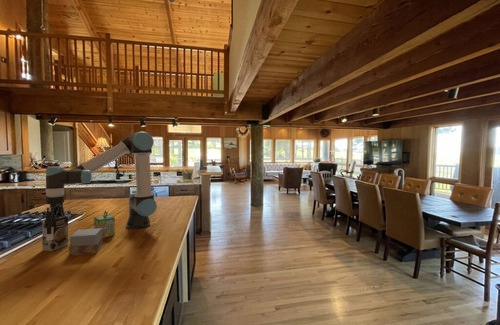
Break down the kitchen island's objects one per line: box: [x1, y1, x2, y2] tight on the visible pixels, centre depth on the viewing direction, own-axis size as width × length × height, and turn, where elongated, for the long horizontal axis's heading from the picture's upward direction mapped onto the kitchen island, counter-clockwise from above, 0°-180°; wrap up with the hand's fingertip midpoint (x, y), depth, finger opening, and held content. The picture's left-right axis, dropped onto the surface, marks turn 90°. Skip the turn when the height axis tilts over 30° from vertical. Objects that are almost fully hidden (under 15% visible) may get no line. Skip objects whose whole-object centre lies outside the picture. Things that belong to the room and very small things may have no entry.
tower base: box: [68, 236, 104, 257], centre depth 125 cm, size 12×12×5 cm
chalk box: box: [93, 210, 116, 239], centre depth 146 cm, size 9×9×15 cm
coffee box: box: [41, 215, 69, 252], centre depth 126 cm, size 9×6×16 cm
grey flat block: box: [69, 228, 102, 247], centre depth 124 cm, size 11×11×5 cm
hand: (55, 235), depth 126 cm, fingers open, 13 cm apart
